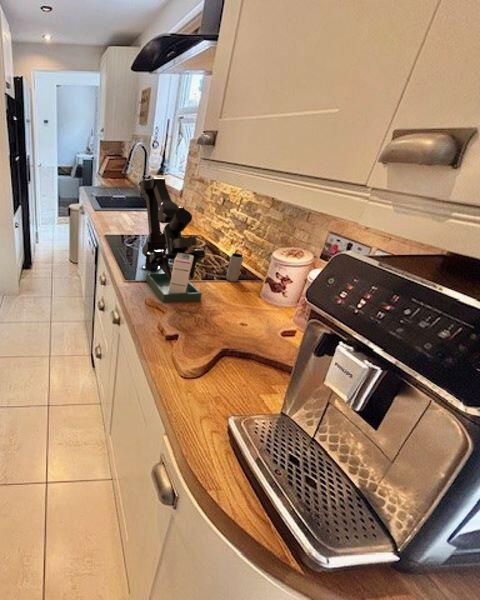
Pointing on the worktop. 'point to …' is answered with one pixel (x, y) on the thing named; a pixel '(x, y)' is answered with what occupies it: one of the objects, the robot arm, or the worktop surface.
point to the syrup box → (180, 273)
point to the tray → (161, 288)
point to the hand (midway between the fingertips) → (181, 278)
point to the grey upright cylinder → (234, 267)
